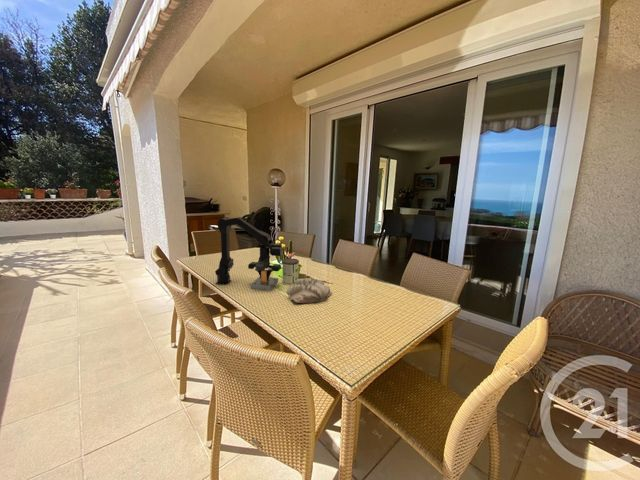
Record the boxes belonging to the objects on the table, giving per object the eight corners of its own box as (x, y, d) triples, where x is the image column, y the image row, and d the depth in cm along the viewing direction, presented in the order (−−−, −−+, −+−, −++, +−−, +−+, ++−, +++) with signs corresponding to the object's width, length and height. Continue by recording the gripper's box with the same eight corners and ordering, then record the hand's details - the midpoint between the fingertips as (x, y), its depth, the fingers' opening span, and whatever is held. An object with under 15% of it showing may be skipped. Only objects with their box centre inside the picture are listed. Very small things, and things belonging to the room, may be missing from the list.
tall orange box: (261, 283, 152) (261, 270, 150) (263, 281, 155) (263, 269, 154) (266, 284, 151) (266, 271, 150) (268, 282, 155) (268, 269, 153)
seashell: (305, 307, 123) (296, 277, 126) (285, 311, 137) (278, 284, 139) (343, 293, 143) (335, 267, 145) (322, 298, 156) (316, 274, 158)
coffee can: (284, 278, 167) (284, 257, 164) (299, 279, 166) (300, 258, 163) (280, 284, 157) (280, 262, 154) (296, 285, 156) (297, 263, 153)
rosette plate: (250, 288, 148) (250, 283, 147) (260, 280, 161) (260, 275, 161) (270, 291, 146) (270, 285, 145) (278, 282, 159) (278, 277, 159)
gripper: (243, 257, 144) (244, 283, 147) (275, 260, 141) (274, 286, 144) (252, 252, 154) (252, 276, 157) (281, 255, 151) (281, 279, 154)
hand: (264, 280), depth 153 cm, fingers closed on tall orange box, 3 cm apart
